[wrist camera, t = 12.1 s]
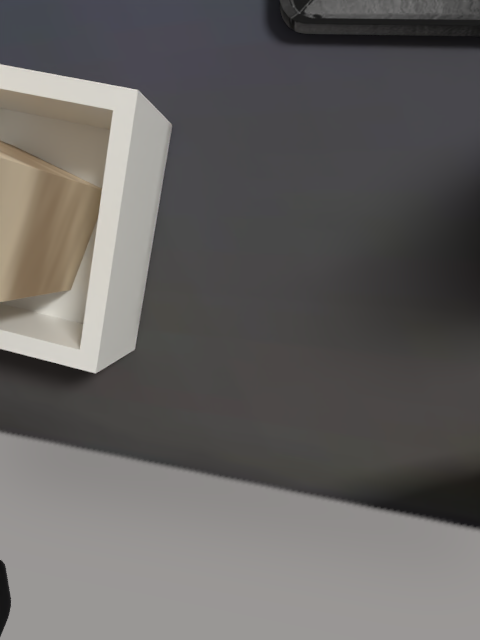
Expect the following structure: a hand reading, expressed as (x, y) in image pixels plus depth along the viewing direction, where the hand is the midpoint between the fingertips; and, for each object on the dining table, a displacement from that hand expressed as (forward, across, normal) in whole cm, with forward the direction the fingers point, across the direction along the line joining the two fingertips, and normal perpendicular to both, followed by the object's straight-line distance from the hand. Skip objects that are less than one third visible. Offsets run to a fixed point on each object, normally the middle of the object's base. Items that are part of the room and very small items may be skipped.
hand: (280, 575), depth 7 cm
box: (+15, +10, -6) cm, 19 cm away
